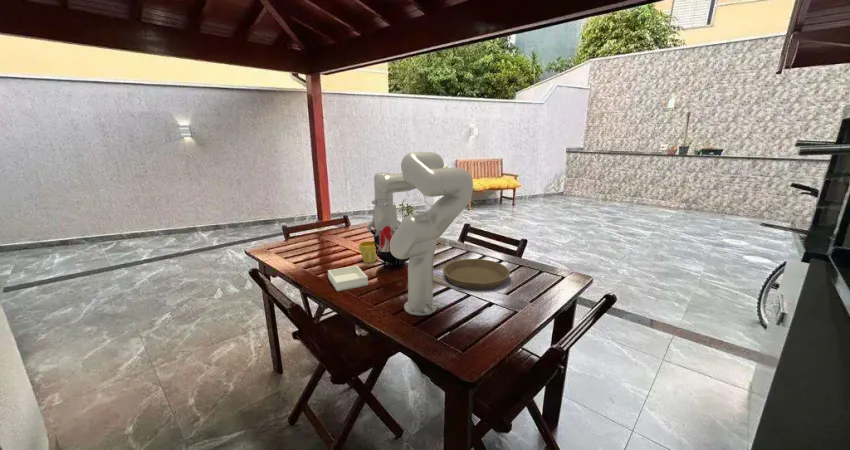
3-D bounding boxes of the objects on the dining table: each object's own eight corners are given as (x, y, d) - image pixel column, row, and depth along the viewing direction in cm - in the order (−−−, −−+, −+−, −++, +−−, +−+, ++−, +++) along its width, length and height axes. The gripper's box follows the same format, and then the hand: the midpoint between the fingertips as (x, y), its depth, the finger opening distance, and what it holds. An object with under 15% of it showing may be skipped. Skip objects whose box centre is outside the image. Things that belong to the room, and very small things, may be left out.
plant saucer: (432, 284, 159) (432, 274, 158) (456, 262, 186) (456, 254, 185) (500, 297, 146) (500, 287, 145) (515, 272, 173) (516, 263, 172)
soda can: (391, 253, 148) (390, 225, 146) (375, 252, 150) (374, 224, 147) (395, 248, 155) (394, 221, 152) (380, 247, 156) (379, 221, 154)
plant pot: (358, 258, 191) (357, 241, 189) (377, 256, 194) (376, 239, 192) (361, 265, 182) (360, 247, 179) (380, 263, 185) (380, 245, 182)
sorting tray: (368, 285, 157) (367, 276, 156) (336, 291, 151) (336, 282, 150) (357, 273, 171) (356, 265, 170) (328, 278, 164) (327, 270, 164)
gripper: (367, 205, 140) (369, 248, 145) (406, 202, 148) (407, 242, 152) (361, 203, 147) (363, 243, 151) (399, 199, 155) (400, 238, 159)
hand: (385, 242), depth 152 cm, fingers closed on soda can, 7 cm apart
